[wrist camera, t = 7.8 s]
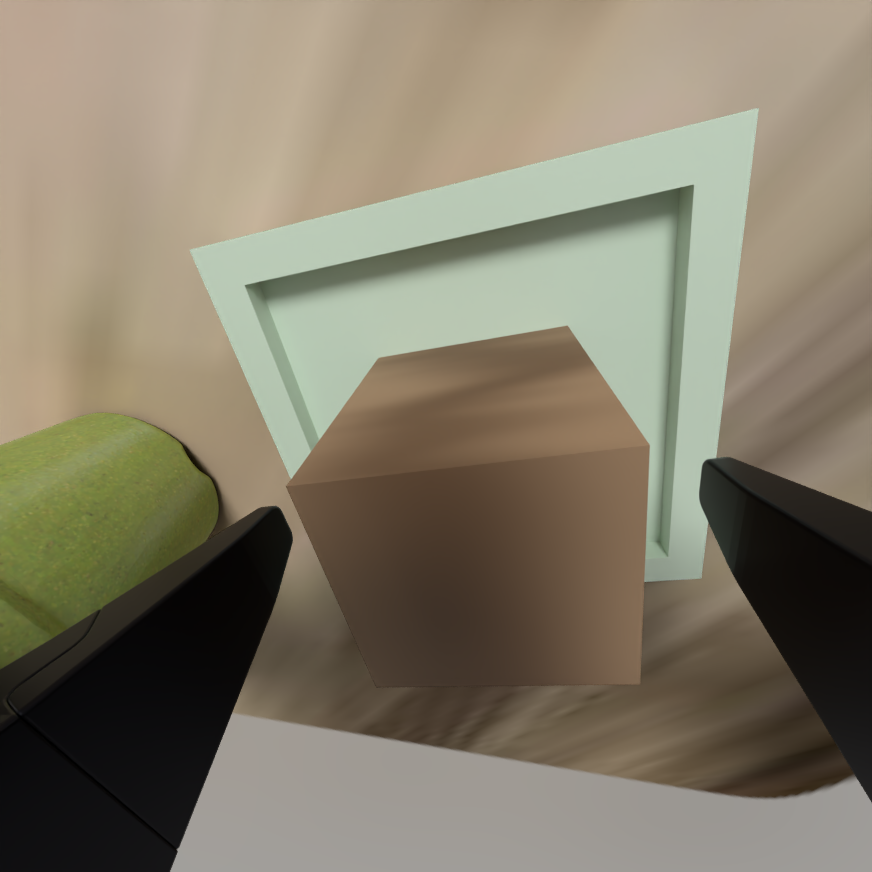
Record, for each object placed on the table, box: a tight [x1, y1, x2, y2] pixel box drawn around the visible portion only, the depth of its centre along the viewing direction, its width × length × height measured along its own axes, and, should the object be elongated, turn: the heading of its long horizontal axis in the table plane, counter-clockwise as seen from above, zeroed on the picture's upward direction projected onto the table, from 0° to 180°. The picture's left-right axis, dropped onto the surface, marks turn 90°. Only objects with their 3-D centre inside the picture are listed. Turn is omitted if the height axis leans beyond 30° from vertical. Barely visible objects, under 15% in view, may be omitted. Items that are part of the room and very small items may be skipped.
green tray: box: [190, 108, 759, 582], centre depth 12 cm, size 12×12×2 cm
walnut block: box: [286, 326, 650, 688], centre depth 9 cm, size 5×5×6 cm
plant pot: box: [0, 413, 219, 669], centre depth 12 cm, size 9×9×9 cm
